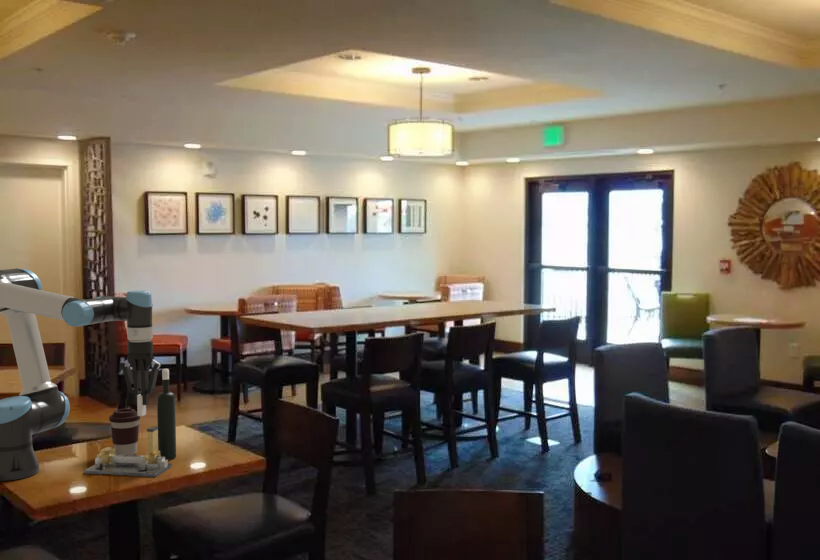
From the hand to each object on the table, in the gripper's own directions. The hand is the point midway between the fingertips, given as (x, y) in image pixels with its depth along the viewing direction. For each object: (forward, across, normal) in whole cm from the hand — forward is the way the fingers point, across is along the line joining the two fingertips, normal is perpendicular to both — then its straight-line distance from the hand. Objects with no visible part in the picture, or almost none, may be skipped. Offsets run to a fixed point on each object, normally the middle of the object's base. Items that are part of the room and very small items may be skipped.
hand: (141, 415), depth 251 cm
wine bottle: (+19, 0, +17) cm, 25 cm away
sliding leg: (+17, +1, +2) cm, 17 cm away
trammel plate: (+18, -6, +2) cm, 19 cm away
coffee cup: (+19, -16, +19) cm, 31 cm away
